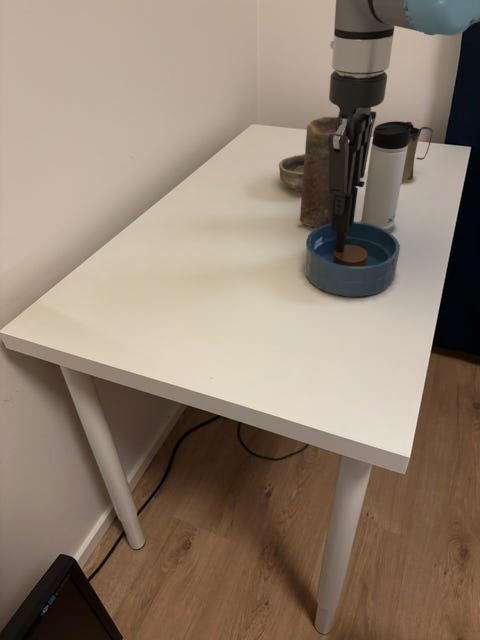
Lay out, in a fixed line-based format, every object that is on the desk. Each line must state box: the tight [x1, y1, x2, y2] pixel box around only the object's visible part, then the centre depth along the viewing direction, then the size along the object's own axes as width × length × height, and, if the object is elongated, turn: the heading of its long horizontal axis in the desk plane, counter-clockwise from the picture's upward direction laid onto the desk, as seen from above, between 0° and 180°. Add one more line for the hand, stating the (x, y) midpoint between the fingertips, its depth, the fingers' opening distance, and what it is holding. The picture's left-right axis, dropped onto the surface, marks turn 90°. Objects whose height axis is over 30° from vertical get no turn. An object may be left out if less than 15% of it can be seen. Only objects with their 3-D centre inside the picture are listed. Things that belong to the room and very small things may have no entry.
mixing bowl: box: [304, 221, 401, 298], centre depth 83 cm, size 15×15×6 cm
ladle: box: [333, 178, 367, 267], centre depth 78 cm, size 6×6×18 cm
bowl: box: [278, 153, 305, 192], centre depth 110 cm, size 14×18×10 cm
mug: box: [401, 126, 434, 184], centre depth 110 cm, size 8×6×12 cm
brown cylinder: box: [299, 116, 338, 229], centre depth 92 cm, size 8×7×20 cm
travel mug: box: [360, 120, 414, 233], centre depth 90 cm, size 6×7×20 cm
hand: (342, 226), depth 80 cm, fingers closed on ladle, 2 cm apart
